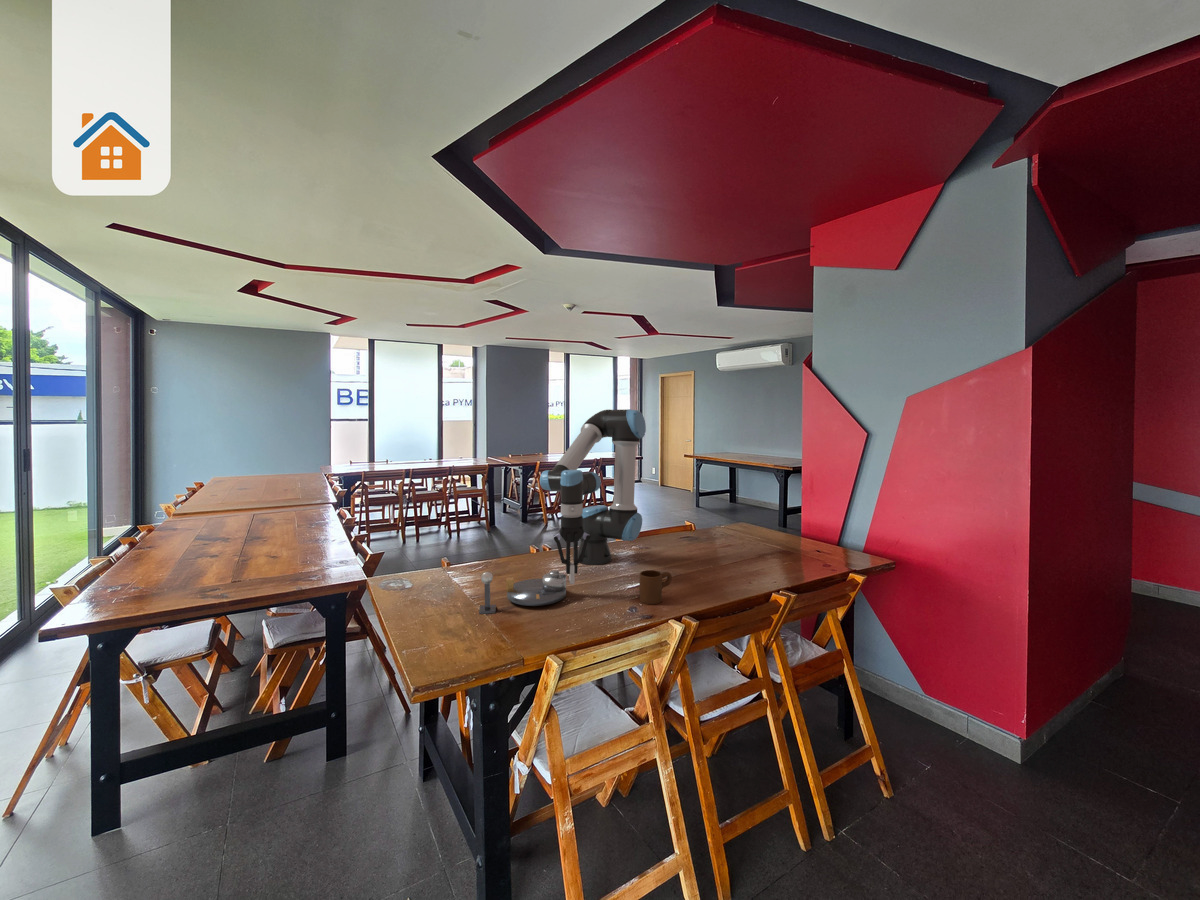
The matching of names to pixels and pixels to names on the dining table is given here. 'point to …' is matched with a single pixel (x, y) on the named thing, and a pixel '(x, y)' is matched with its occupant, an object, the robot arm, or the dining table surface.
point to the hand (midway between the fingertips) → (571, 582)
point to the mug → (652, 586)
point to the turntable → (531, 592)
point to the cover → (554, 581)
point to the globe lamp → (487, 594)
